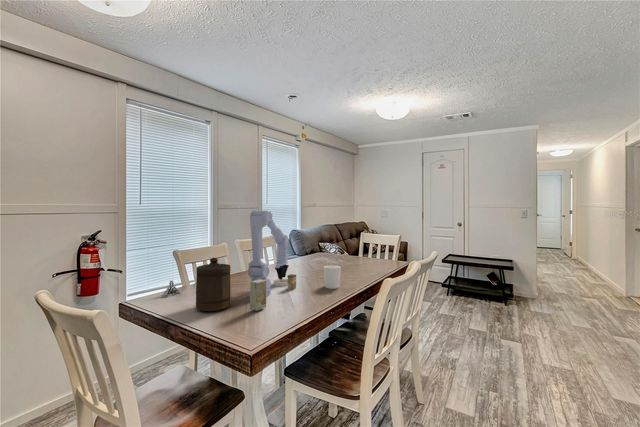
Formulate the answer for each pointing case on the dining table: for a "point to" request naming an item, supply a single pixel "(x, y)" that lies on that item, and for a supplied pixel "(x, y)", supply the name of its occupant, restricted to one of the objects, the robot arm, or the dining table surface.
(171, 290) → the house of cards
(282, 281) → the jar dish
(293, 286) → the brown rectangular block
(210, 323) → the dining table surface
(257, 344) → the dining table surface
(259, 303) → the skincare box
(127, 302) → the dining table surface
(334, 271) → the candle holder
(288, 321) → the dining table surface
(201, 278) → the wooden container
